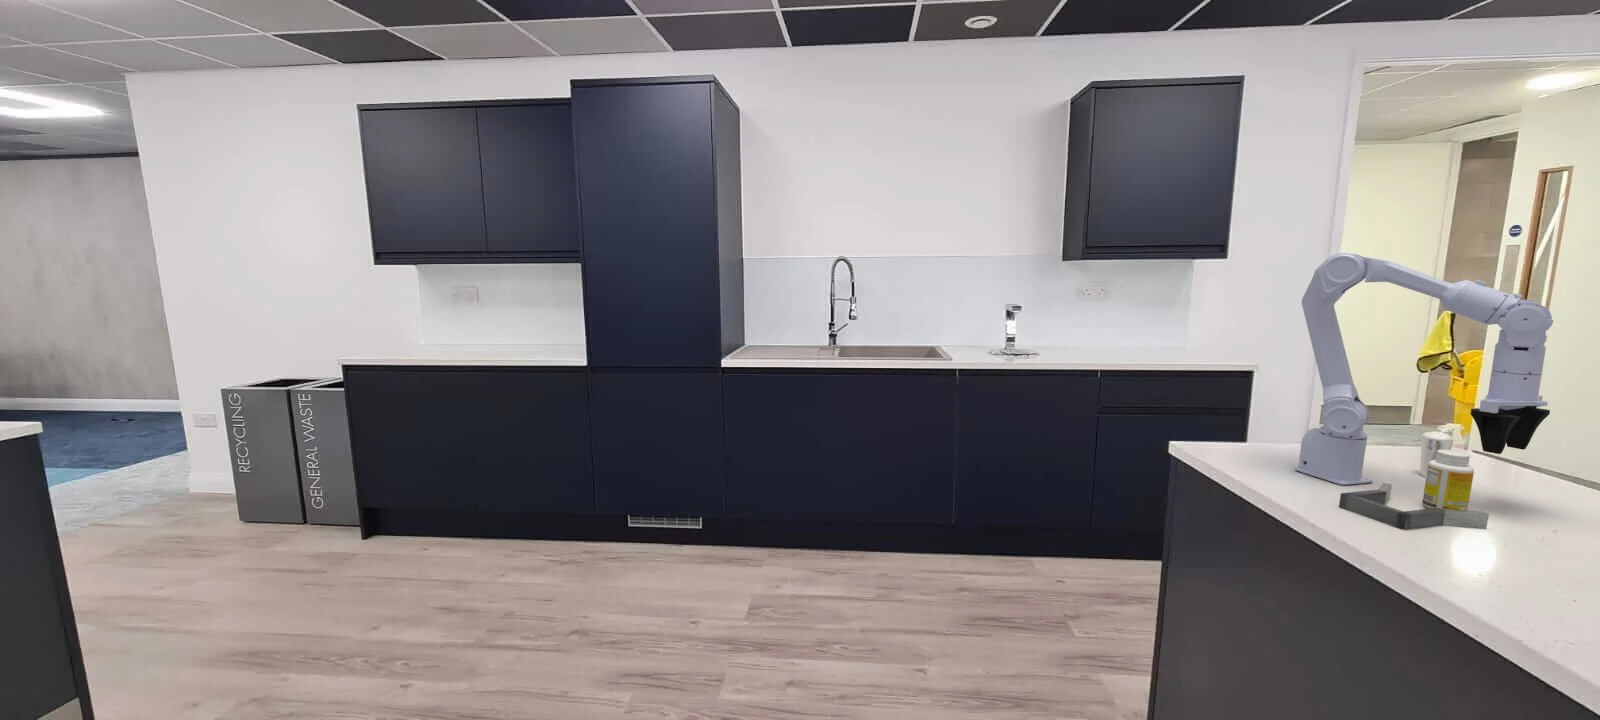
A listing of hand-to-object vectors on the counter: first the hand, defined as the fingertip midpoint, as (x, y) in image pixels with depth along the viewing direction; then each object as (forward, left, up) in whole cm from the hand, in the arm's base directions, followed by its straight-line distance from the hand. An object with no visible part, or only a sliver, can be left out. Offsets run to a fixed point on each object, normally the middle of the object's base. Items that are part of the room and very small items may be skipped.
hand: (1504, 450), depth 111 cm
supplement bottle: (-1, -10, -11) cm, 14 cm away
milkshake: (-15, +9, -11) cm, 21 cm away
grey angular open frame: (-1, -20, -10) cm, 22 cm away
